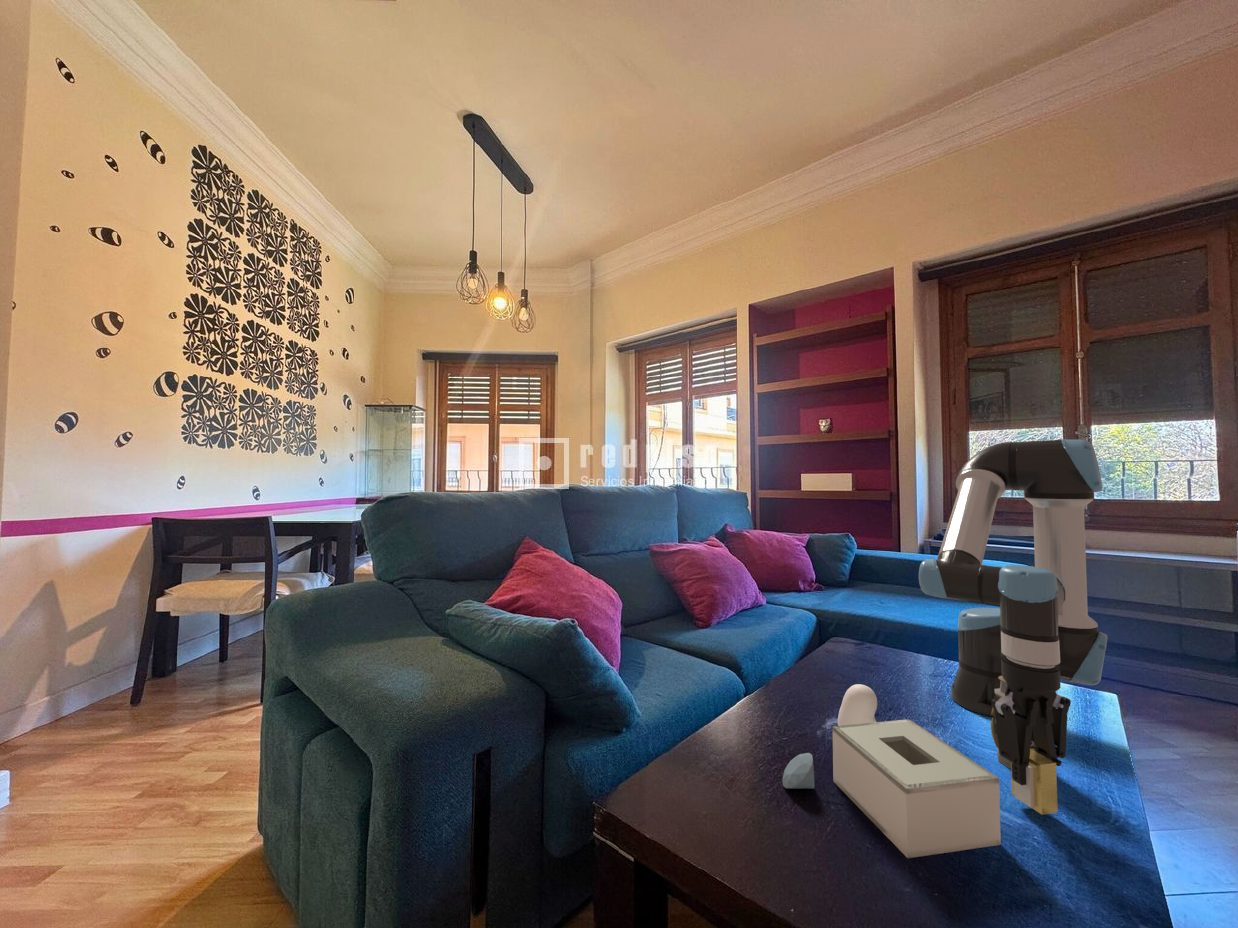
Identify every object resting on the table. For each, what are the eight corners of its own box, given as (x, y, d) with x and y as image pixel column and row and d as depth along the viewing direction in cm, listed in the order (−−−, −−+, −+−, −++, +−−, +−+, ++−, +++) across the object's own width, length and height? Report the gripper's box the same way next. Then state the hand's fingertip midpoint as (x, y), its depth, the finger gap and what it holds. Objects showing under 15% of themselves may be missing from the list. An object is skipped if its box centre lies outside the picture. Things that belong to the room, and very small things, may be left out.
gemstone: (830, 763, 88) (809, 741, 89) (830, 793, 81) (807, 769, 82) (800, 783, 90) (780, 761, 91) (797, 814, 83) (776, 790, 85)
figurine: (883, 753, 96) (882, 694, 97) (842, 749, 98) (842, 690, 98) (871, 735, 103) (871, 679, 103) (834, 731, 105) (833, 676, 105)
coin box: (910, 772, 90) (909, 719, 90) (1000, 844, 72) (999, 777, 73) (833, 781, 87) (832, 726, 88) (907, 858, 70) (906, 788, 70)
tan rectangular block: (1026, 791, 82) (1025, 745, 82) (1057, 812, 77) (1056, 762, 77) (1011, 794, 82) (1010, 747, 82) (1042, 814, 77) (1040, 764, 77)
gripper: (1046, 648, 85) (1050, 780, 85) (968, 655, 82) (972, 791, 82) (1094, 664, 78) (1099, 809, 77) (1010, 673, 75) (1015, 823, 75)
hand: (1033, 800), depth 80 cm, fingers closed on tan rectangular block, 3 cm apart
